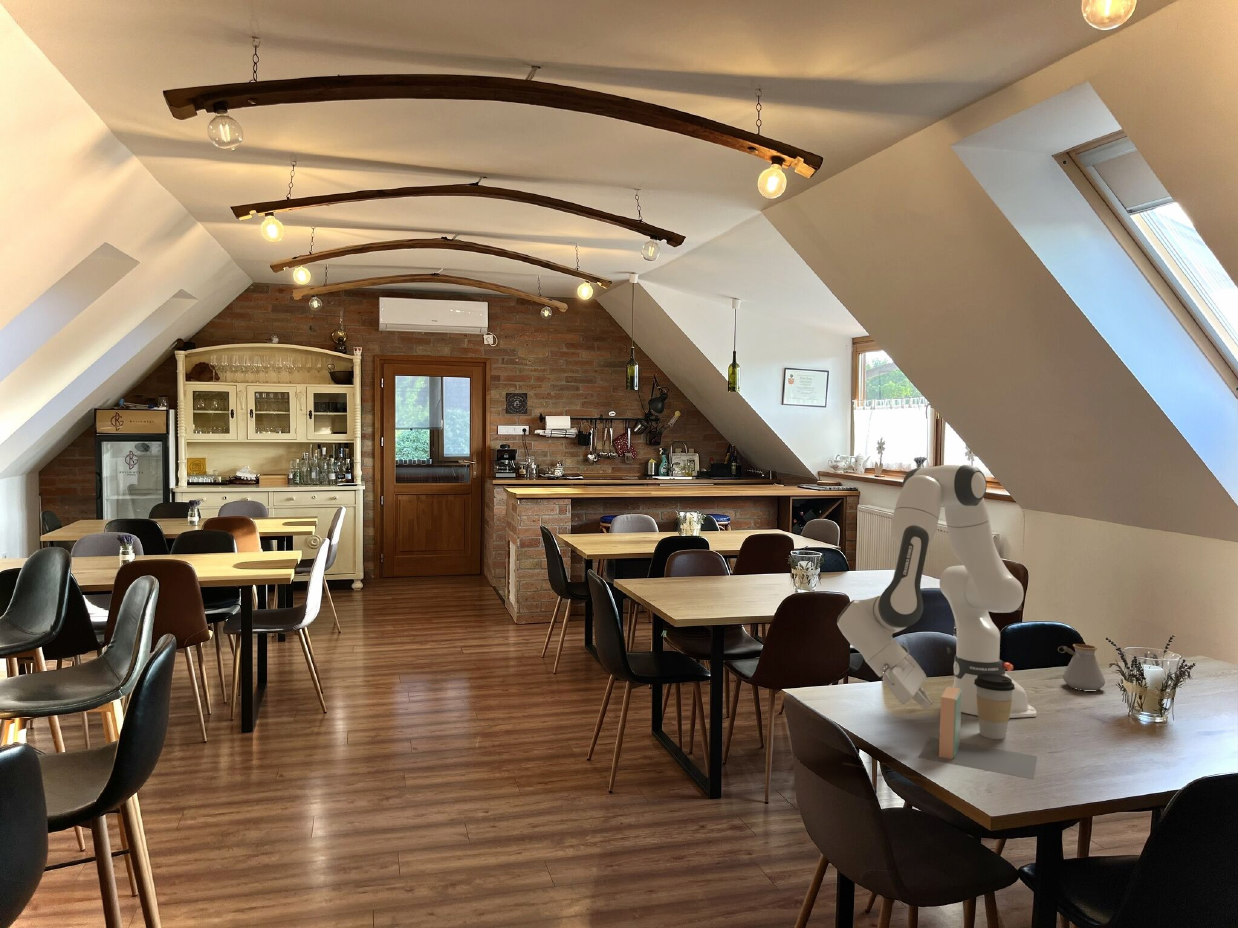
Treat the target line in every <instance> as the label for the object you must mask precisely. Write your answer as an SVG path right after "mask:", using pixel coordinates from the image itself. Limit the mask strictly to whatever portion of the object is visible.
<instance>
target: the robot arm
mask: <svg viewBox="0 0 1238 928" xmlns="http://www.w3.org/2000/svg"><path fill="white" fill-rule="evenodd" d="M901 485H902V486H901V491H900V493H899V495H898V498H897V500H896V503H895V505H894V506H895V507H894V511H893V514H892V517H891V518H892V520H891V527H890V529H891V530H890V535H891V538H892V540H893V542H894V543H896V544H897V546H898V554H897V558H896V564H895V568H894V574H893V576H892V577H893V578H892V580H891V582H890V584H889V585H887V587H886V588H885V589H884V590H883V592H882V593H881V594H880V595H877V596H874V597H871V598H867V599H853V600H851V601H850V602H849V603H848V604H847V605H846V606H845V607H844V608H843V609H842V611H841V612H840V613H839V614H838V616H837V619H836V624H837V626H838V629H839V631H840V632H841V633H842V635H843V636H844V638H845V639H846V640H847V641H848V643H849V644H850V645H851V646H852V647H853V649H855V650H857V651H858V652H859V653H860V654H861V656H862V657H863V659H864V661H865V663H866V664H867V665H868V666H869V667H870V668H871V669H872V670H873V672H874V673H875V674H876V676H878V677H879V678H881V677H882V681H883V683H884V684H885V686H886V688H887V689H888V690H889V691H890V693H891V694H892V695H893V697H894V698H895V699H896V700H897V701H898V702H899V703H900V704H902V705H905V704H907V703H908V702H909V701H910V700H913V701H915V703H917V704H919V705H920V706H921V708H923V709H924V710H925V711H926V710H929V709H930V708H931V707H932V705H933V701H932V699H930V697H929V696H928V694H927V692H926V690H925V689H924V688H923V687H922V685H923V684H924V683H925V681H926V680H927V678H928V677H927V675H926V673H925V671H924V669H922V667H921V666H920V665H919V663H918V662H917V661H916V660H915V659H914V657H913V656H912V655H911V654H910V650H909V648H907V647H906V646H905V645H904V644H900V643H898V642H897V641H896V639H895V638H894V637H893V634H895V633H898V632H900V631H903V630H905V629H906V628H908V627H911V626H913V625H915V624H916V623H917V622H919V620H920V619H921V617H922V615H923V613H924V600H923V596H922V590H921V582H922V577H923V573H924V572H923V571H924V566H925V562H926V556H927V552H928V550H929V548H930V545H931V544H932V542H933V539H934V537H935V534H936V530H937V528H938V523H939V519H940V515H941V509H942V508H944V517H945V522H946V530H947V534H948V539H949V546H950V550H951V552H952V553H953V555H954V556H955V557H956V558H957V559H958V560H959V561H960V562H961V564H962V565H952V566H949V567H946V568H945V570H943V572H942V573H941V575H940V578H939V589H940V592H941V593H942V594H943V596H944V597H945V598H946V600H947V601H948V604H949V605H950V609H951V611H952V612H951V613H952V614H953V618H954V621H955V628H956V630H955V631H956V650H955V651H956V654H955V655H954V660H953V662H954V663H953V675H954V681H953V685H952V687H954V688H960V690H962V697H961V713H964V714H968V715H973V716H977V717H978V711H977V696H976V694H977V687H976V685H975V684H974V682H975V681H974V680H975V679H976V678H977V676H978V675H979V674H985V673H988V674H998V675H1003V676H1006V677H1009V678H1011V677H1010V675H1008V674H1007V673H1006V671H1008V672H1011V671H1013V669H1014V665H1013V664H1011V663H1010V662H1005V661H1003V660H1001V659H1000V652H1001V649H1000V648H1001V647H1000V645H1001V632H1000V630H999V628H998V627H997V626H996V624H995V623H994V622H993V620H992V618H991V616H990V613H989V612H991V613H994V614H995V613H996V614H997V613H998V614H1000V613H1001V614H1004V613H1005V614H1006V613H1014V612H1015V611H1016V610H1018V609H1019V607H1020V606H1021V605H1022V603H1023V600H1024V595H1025V594H1024V587H1023V585H1022V583H1021V582H1020V581H1019V580H1018V579H1017V578H1016V577H1015V576H1014V575H1013V574H1012V573H1011V572H1010V571H1009V569H1008V568H1007V567H1006V565H1005V563H1004V561H1003V559H1002V558H1001V556H1000V553H999V552H998V550H997V547H996V545H995V541H994V536H993V531H992V527H991V521H990V515H989V511H988V507H987V504H986V500H985V499H984V497H985V495H986V492H987V480H986V476H985V474H984V472H982V470H981V469H980V468H979V467H977V466H974V465H970V464H969V465H968V464H963V465H956V464H941V465H936V466H929V467H928V466H927V467H917V468H914V469H911V470H909V471H908V472H907V473H906V474H905V476H904V478H903V480H902V484H901ZM1011 679H1012V683H1013V684H1014V687H1015V689H1014V690H1013V692H1012V703H1011V710H1010V717H1009V719H1012V718H1013V719H1014V718H1016V719H1017V718H1032V717H1034V718H1035V717H1037V714H1038V713H1037V710H1036V709H1035V708H1034V707H1033V706H1032V705H1030V704H1029V702H1028V701H1029V700H1028V696H1027V693H1026V690H1025V689H1024V688H1023V687H1022V686H1021V684H1019V683H1018V682H1016V681H1015V680H1014V679H1013V678H1011Z"/></svg>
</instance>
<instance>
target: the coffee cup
mask: <svg viewBox="0 0 1238 928" xmlns="http://www.w3.org/2000/svg"><path fill="white" fill-rule="evenodd" d="M1009 677H1010V676H1009ZM1009 677H1006V676H1003V675H998V674H988V673H985V674H979V675H978V676H977V678H976V679H975V680H974V681H975V682H974V684H975V685H976V687H977V694H976V696H977V711H978V716H977V717H978V726H979V727H978V728H979V735H980V736H982V737H984V738H986V739H987V738H988V739H991V740H1004V739H1006V737H1007V730H1008V724H1009V721H1010V718H1009V717H1010V710H1011V703H1012V692H1013V690H1014V689H1015V687H1014V684H1013V683H1012V679H1013V678H1012V679H1011V677H1010V678H1009Z"/></svg>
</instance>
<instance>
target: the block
mask: <svg viewBox="0 0 1238 928" xmlns="http://www.w3.org/2000/svg"><path fill="white" fill-rule="evenodd" d="M961 697H962V690H960V688H954V687H953V686H947V687H946V688H945V689H944V691H943V693H942V695H941V696H940V714H939V739H940V740H939V757H943V758H949V759H953V758H955V755H956V753H957V751H958V748H959V746H960V743H961V724H962V723H961V720H962V719H961V717H962V712H961Z"/></svg>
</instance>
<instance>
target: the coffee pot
mask: <svg viewBox="0 0 1238 928" xmlns="http://www.w3.org/2000/svg"><path fill="white" fill-rule="evenodd" d="M1072 647H1073V648H1074V650H1075V651H1073V650H1072V649H1071V648H1068V646H1065V645H1061V646H1060V647H1058V648H1057V651H1058V652H1060V653H1061V654H1062V653H1063V654H1064V653H1065V652H1067V653H1068V654H1070V655H1072V657H1071V660H1070V662H1069V663H1068V665H1067V667H1066V669H1065V670H1064V672H1063V674H1062V679H1063V681H1064V682H1065V683H1066V685H1068V687H1069V686H1070V687H1073V688H1077V689H1081V690H1100V689H1102V688H1103V687H1104V686H1105V684H1106V679H1105V677H1104V674H1103V672H1102V670H1101V667H1100V665H1099V662H1098V660H1097V658H1096V655H1095V653H1096V650H1097V649H1098V647H1097V646H1095V645H1092V644H1091V645H1090V644H1086V643H1085V644H1083V643H1072ZM1060 648H1062V649H1063V651H1060V650H1059V649H1060ZM1070 687H1069V688H1070Z"/></svg>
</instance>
